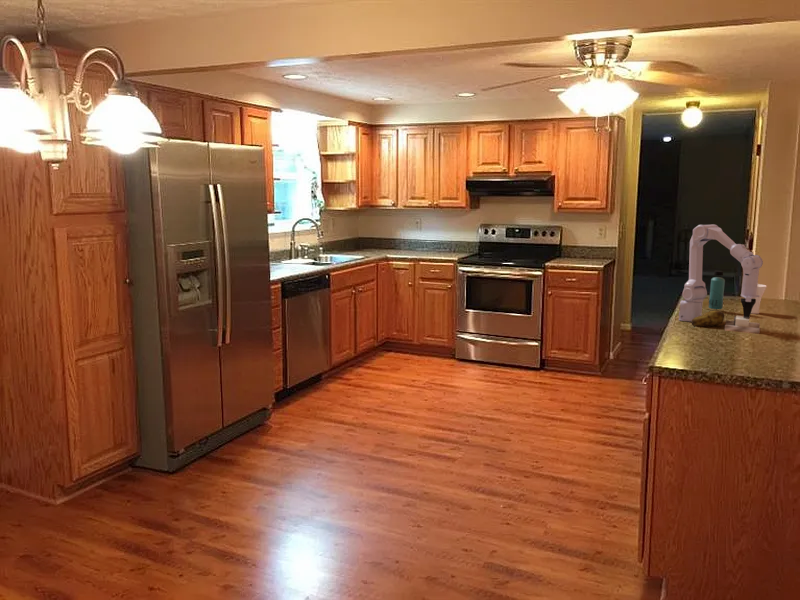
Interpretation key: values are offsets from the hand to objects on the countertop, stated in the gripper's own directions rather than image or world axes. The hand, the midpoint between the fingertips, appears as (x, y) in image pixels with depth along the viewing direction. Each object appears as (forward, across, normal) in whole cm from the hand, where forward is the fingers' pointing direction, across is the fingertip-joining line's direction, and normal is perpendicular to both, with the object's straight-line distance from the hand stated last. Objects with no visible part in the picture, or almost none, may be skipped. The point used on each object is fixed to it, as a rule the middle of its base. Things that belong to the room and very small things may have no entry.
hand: (746, 316), depth 283 cm
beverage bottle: (+7, +44, +14) cm, 47 cm away
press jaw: (+6, 0, +2) cm, 6 cm away
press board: (+7, 0, +1) cm, 7 cm away
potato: (+7, 0, +15) cm, 16 cm away
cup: (+7, +49, -2) cm, 50 cm away
